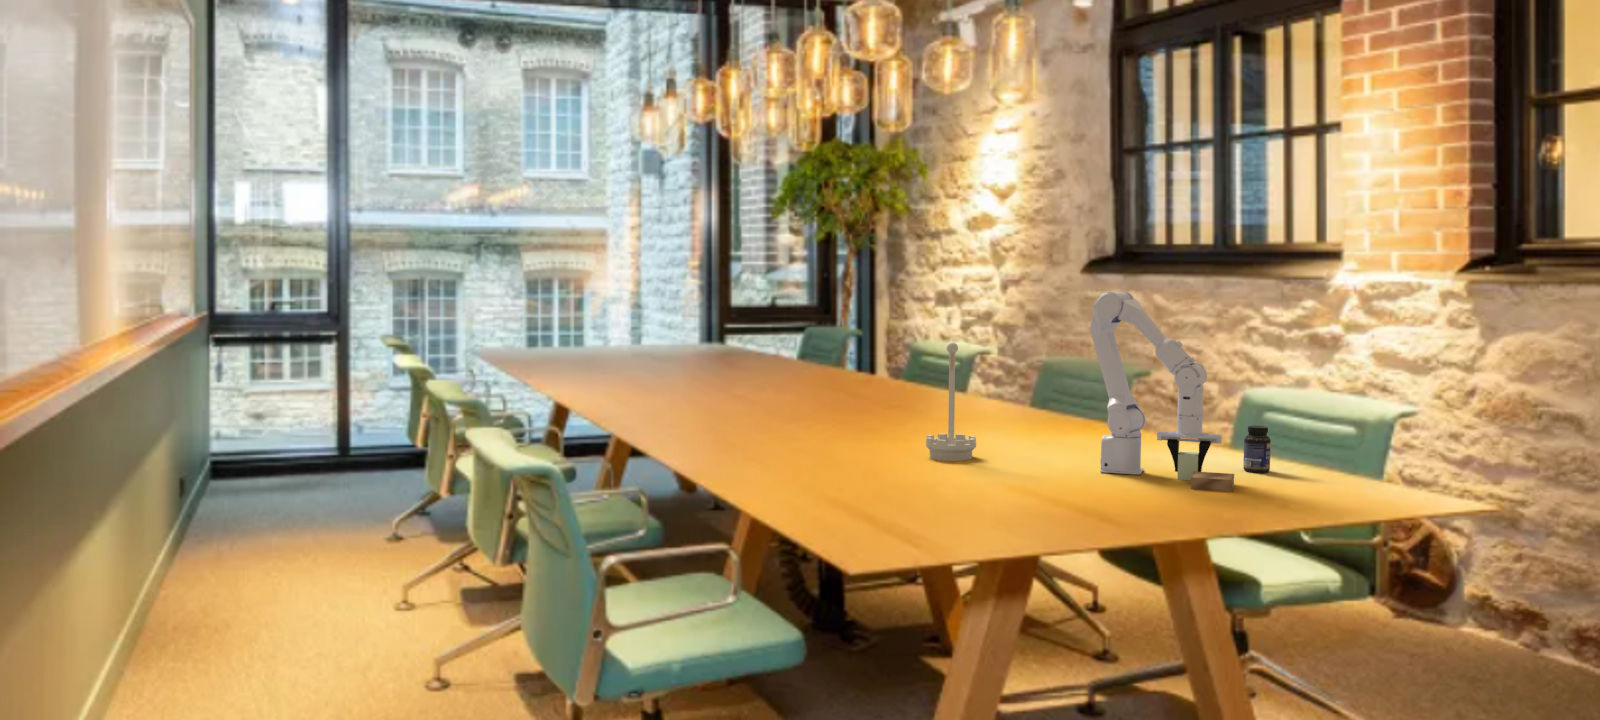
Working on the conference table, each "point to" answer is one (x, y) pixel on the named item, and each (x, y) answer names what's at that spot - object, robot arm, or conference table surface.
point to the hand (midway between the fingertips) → (1188, 471)
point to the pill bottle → (1257, 450)
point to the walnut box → (1212, 481)
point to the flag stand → (951, 426)
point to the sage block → (1187, 465)
